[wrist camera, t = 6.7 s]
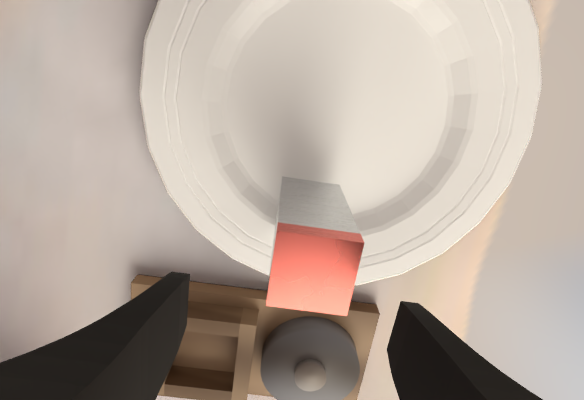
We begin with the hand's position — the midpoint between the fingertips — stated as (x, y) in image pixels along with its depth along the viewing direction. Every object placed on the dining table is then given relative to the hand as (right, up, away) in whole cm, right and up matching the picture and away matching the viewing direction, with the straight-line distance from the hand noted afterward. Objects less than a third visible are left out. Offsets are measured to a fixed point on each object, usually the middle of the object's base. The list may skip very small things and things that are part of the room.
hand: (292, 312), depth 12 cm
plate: (+2, +9, +8) cm, 12 cm away
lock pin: (+1, +3, +8) cm, 9 cm away
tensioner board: (-3, -6, +13) cm, 15 cm away
